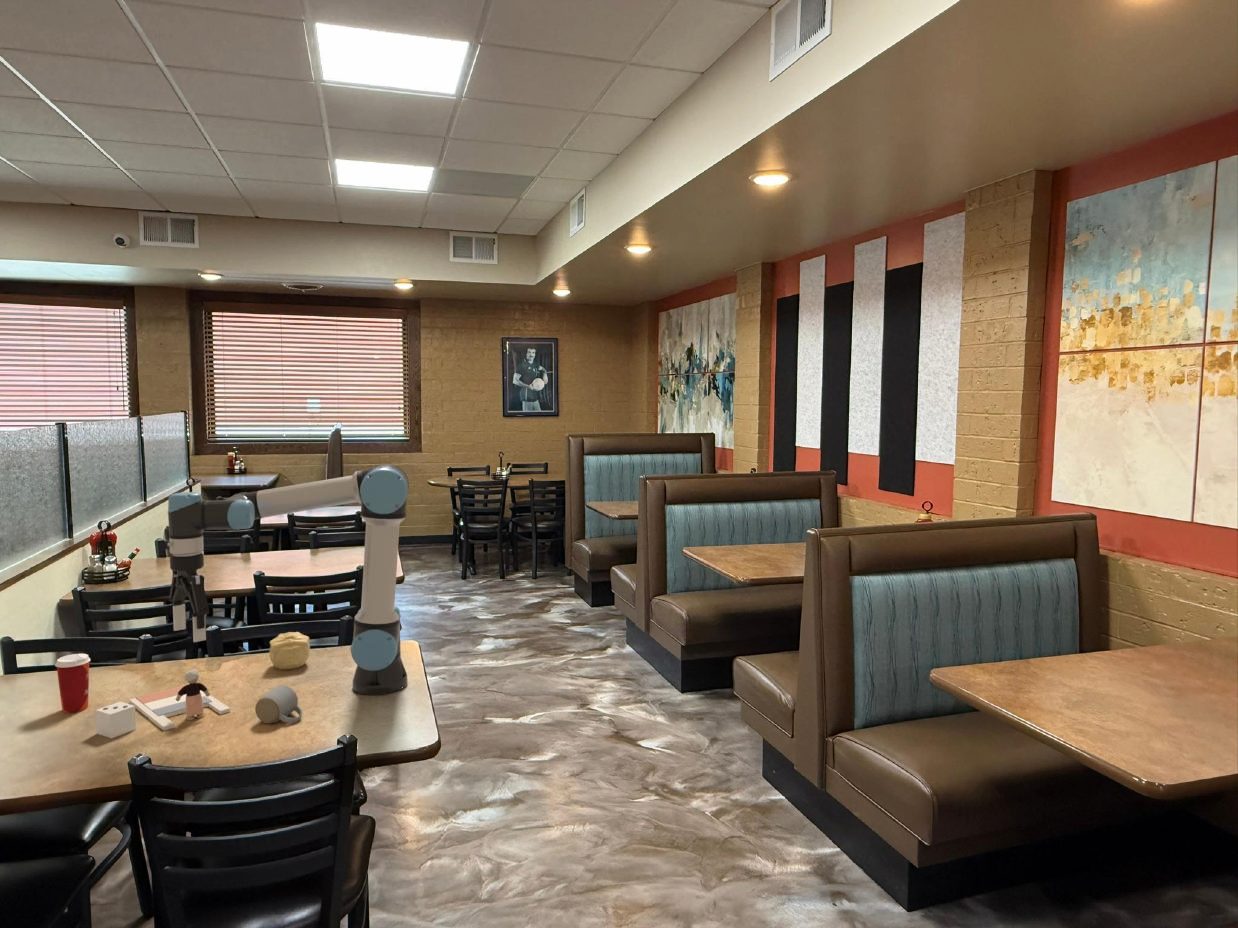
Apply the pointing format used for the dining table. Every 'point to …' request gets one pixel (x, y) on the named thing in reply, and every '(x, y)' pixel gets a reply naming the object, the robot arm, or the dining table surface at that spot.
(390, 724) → the dining table surface
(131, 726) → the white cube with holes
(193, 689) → the grandmother figurine
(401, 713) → the dining table surface
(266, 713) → the ceramic mug
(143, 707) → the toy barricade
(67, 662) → the paper cup
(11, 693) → the dining table surface
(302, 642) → the pale yellow rounded lump
